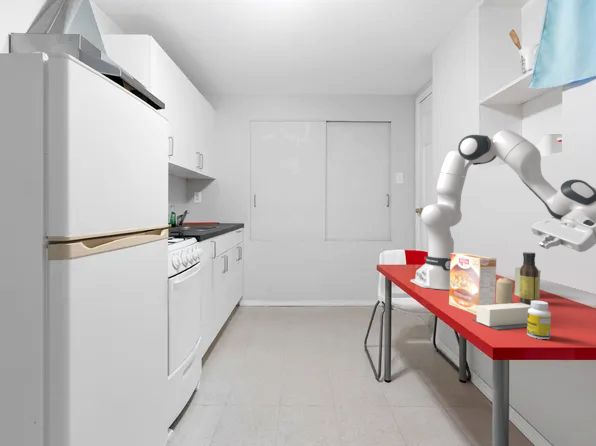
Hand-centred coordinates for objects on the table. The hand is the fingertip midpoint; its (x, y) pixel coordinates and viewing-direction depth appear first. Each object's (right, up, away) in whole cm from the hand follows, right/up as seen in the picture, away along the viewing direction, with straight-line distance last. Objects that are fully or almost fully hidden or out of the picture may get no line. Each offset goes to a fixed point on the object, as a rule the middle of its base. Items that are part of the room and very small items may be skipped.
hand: (542, 246), depth 122 cm
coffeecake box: (-24, -23, +3) cm, 33 cm away
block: (-11, -21, -10) cm, 26 cm away
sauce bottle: (+5, -24, +15) cm, 28 cm away
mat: (-21, -23, -12) cm, 34 cm away
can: (+12, -23, +28) cm, 38 cm away
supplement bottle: (-18, -24, -24) cm, 39 cm away
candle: (-6, -23, +13) cm, 27 cm away
